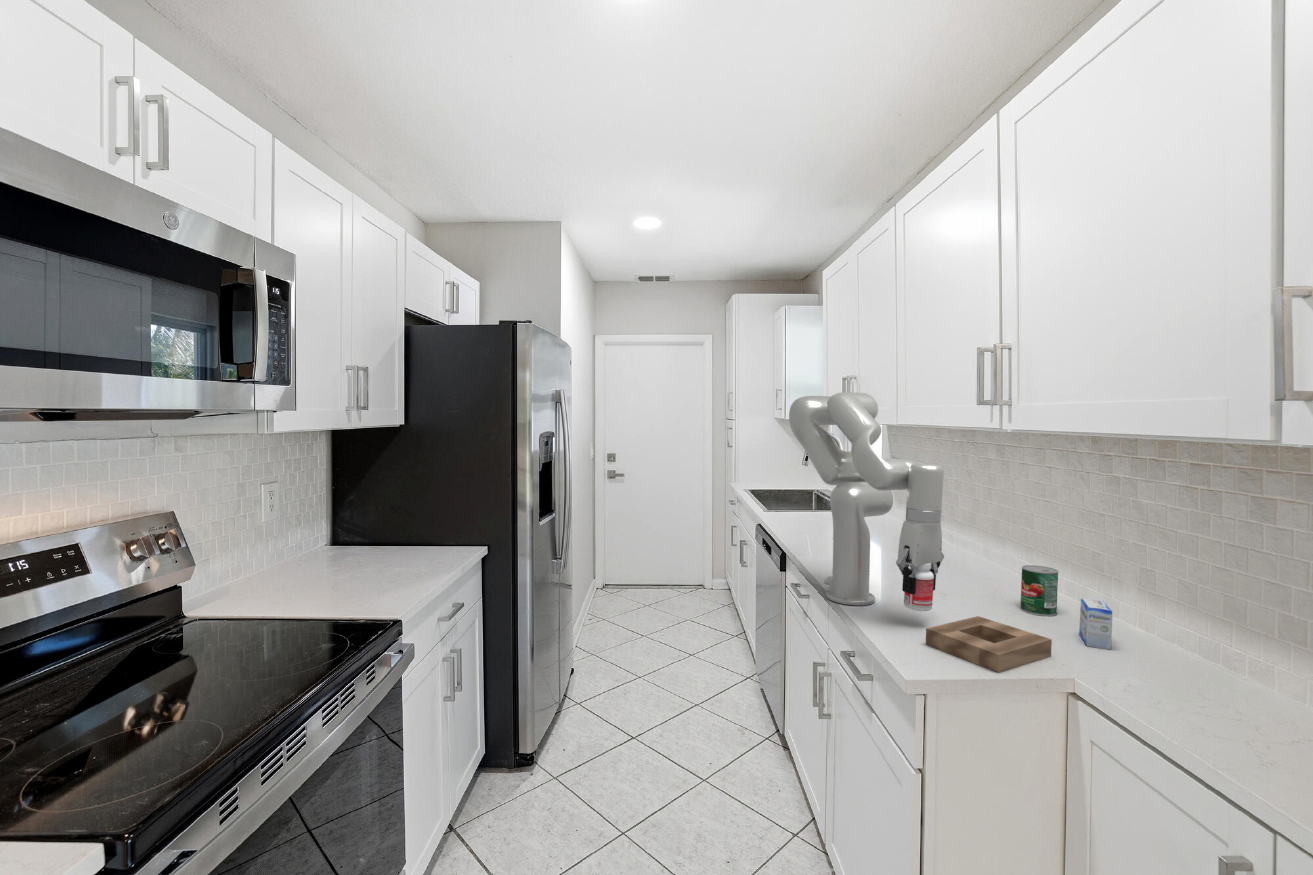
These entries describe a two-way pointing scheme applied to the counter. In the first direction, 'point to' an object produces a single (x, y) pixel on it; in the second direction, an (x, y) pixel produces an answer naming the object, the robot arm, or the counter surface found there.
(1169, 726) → the counter surface
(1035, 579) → the canned tomato
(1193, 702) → the counter surface
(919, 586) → the pill bottle
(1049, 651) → the walnut frame
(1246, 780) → the counter surface
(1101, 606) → the medicine box
